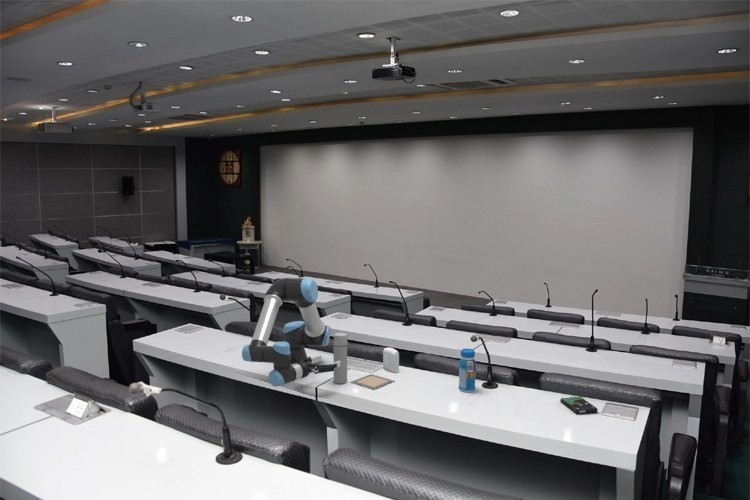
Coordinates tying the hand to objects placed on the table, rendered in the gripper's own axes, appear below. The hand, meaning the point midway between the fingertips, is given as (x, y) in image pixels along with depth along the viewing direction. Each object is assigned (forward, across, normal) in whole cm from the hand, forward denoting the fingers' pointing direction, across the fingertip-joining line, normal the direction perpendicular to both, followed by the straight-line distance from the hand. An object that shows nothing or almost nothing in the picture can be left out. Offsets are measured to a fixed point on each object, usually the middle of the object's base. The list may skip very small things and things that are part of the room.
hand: (330, 360), depth 276 cm
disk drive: (+55, +105, -14) cm, 119 cm away
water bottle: (+8, 0, -13) cm, 15 cm away
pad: (+18, +13, -13) cm, 25 cm away
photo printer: (+39, +8, -13) cm, 42 cm away
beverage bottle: (+41, +55, -13) cm, 69 cm away
